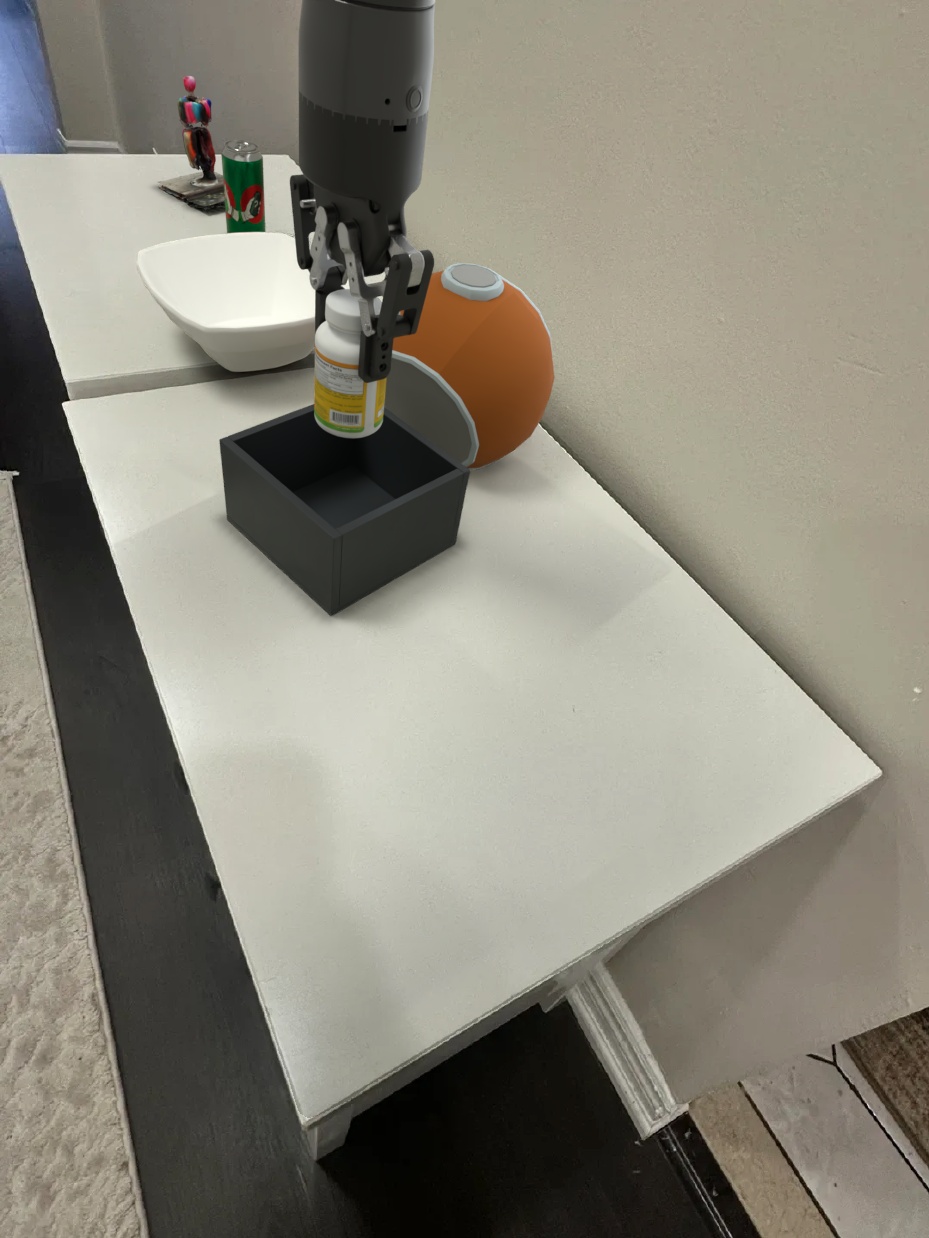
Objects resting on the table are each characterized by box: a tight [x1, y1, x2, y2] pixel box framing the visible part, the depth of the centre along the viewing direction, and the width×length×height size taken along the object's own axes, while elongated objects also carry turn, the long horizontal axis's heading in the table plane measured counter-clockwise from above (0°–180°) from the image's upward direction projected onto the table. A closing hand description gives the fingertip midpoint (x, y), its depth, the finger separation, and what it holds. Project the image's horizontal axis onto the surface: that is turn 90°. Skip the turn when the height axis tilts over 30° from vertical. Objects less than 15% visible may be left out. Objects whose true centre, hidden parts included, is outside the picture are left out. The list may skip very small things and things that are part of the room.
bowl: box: [136, 231, 350, 373], centre depth 84 cm, size 21×21×9 cm
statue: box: [157, 75, 225, 210], centre depth 108 cm, size 11×9×15 cm
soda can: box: [220, 139, 267, 234], centre depth 100 cm, size 5×5×12 cm
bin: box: [218, 403, 471, 617], centre depth 66 cm, size 15×15×9 cm
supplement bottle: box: [313, 289, 387, 438], centre depth 57 cm, size 5×5×10 cm
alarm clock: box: [384, 262, 555, 471], centre depth 76 cm, size 19×18×17 cm
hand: (351, 357), depth 57 cm, fingers closed on supplement bottle, 5 cm apart
